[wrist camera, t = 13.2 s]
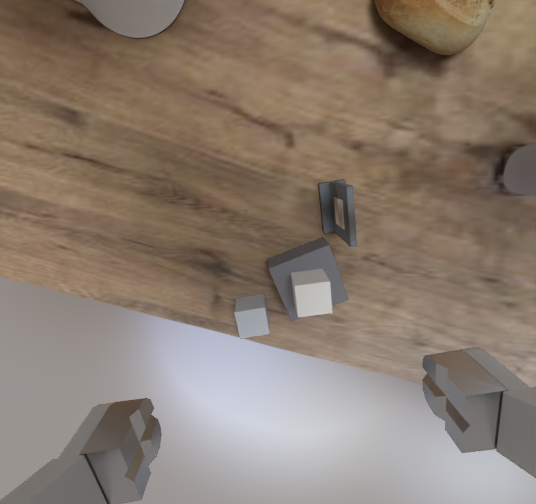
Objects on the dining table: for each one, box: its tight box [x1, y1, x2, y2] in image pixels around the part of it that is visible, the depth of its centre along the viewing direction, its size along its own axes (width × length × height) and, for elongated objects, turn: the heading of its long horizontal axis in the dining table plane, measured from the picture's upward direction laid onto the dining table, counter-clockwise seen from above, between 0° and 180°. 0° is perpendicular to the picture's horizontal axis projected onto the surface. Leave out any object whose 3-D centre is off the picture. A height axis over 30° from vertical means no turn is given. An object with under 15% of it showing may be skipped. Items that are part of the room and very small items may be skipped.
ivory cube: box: [291, 269, 332, 317], centre depth 43 cm, size 5×5×5 cm
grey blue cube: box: [234, 294, 270, 339], centre depth 49 cm, size 5×5×5 cm
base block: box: [268, 237, 349, 321], centre depth 47 cm, size 10×10×5 cm
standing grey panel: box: [318, 179, 357, 247], centre depth 41 cm, size 8×4×10 cm, turn 9°
